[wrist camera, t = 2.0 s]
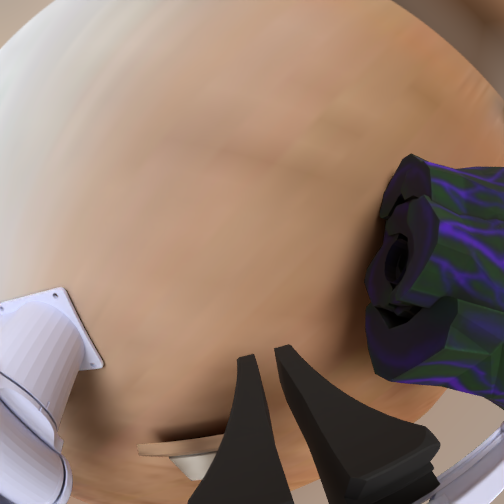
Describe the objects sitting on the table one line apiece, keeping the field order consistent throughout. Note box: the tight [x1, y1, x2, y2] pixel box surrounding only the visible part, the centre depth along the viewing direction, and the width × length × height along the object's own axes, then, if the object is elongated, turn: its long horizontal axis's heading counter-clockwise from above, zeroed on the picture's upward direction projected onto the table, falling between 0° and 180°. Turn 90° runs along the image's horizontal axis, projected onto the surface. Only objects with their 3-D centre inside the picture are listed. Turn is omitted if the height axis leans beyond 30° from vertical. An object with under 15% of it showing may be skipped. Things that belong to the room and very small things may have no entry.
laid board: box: [169, 451, 217, 481], centre depth 28 cm, size 10×8×1 cm
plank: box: [137, 434, 224, 457], centre depth 23 cm, size 10×8×1 cm
